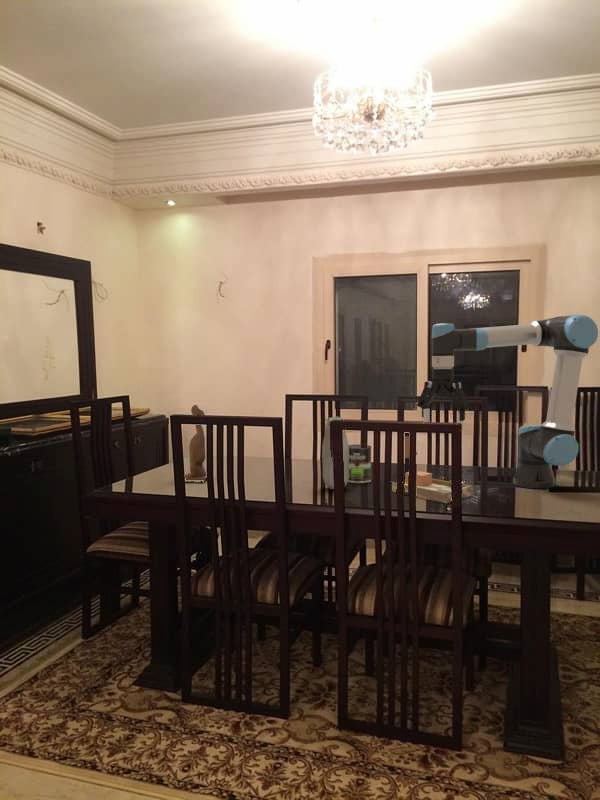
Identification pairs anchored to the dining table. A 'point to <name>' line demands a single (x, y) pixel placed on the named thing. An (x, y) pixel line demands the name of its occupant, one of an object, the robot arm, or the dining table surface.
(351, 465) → the coffee can
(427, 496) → the trap lane
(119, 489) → the dining table surface
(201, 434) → the bird sculpture
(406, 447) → the travel mug
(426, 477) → the block
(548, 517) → the dining table surface
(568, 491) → the dining table surface
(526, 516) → the dining table surface
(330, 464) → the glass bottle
